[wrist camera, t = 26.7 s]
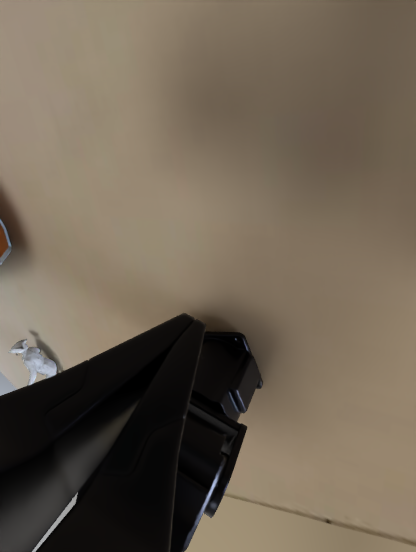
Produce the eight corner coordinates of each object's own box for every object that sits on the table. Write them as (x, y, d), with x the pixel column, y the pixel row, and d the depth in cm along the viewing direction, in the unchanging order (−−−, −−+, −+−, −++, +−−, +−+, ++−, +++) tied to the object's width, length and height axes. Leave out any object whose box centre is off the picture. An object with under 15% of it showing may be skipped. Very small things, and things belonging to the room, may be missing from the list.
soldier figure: (60, 378, 55) (0, 343, 48) (81, 361, 55) (24, 324, 48) (58, 413, 49) (-12, 380, 42) (82, 394, 49) (16, 358, 42)
